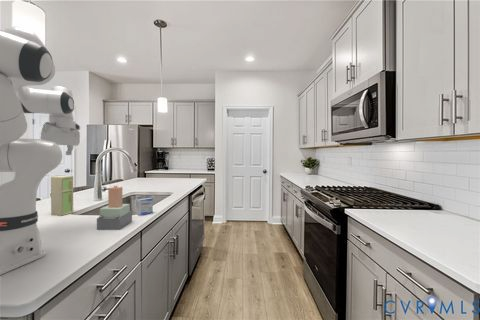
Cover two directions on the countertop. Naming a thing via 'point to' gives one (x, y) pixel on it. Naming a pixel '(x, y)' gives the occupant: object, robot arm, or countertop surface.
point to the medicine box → (144, 206)
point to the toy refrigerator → (61, 195)
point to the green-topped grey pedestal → (114, 217)
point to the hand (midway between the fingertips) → (61, 155)
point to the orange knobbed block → (115, 196)
